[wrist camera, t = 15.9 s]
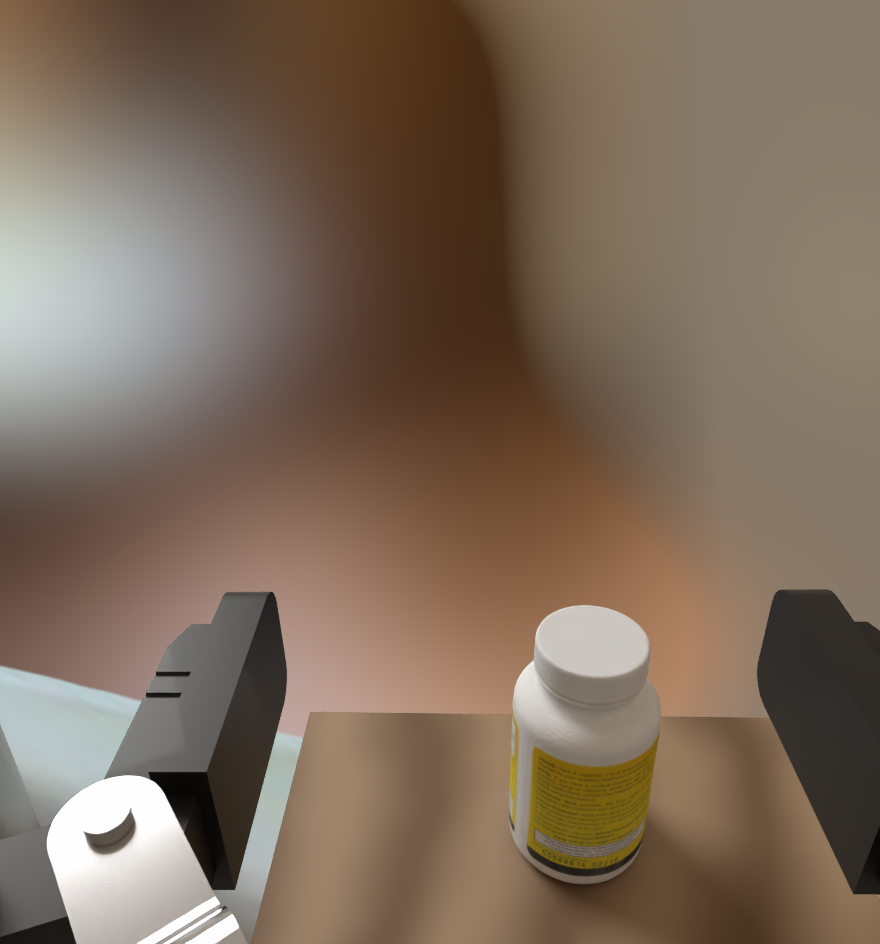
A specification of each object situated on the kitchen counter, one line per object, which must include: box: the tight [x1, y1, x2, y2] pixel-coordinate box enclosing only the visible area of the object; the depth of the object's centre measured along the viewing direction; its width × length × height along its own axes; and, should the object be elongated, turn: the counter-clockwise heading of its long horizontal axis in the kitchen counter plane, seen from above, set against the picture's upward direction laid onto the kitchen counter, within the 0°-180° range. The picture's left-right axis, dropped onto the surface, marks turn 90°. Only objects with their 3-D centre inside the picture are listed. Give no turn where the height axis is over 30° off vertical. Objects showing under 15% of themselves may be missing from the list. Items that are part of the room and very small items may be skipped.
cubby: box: [251, 712, 880, 944], centre depth 35 cm, size 23×12×15 cm, turn 88°
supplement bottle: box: [509, 605, 661, 884], centre depth 29 cm, size 5×5×10 cm
